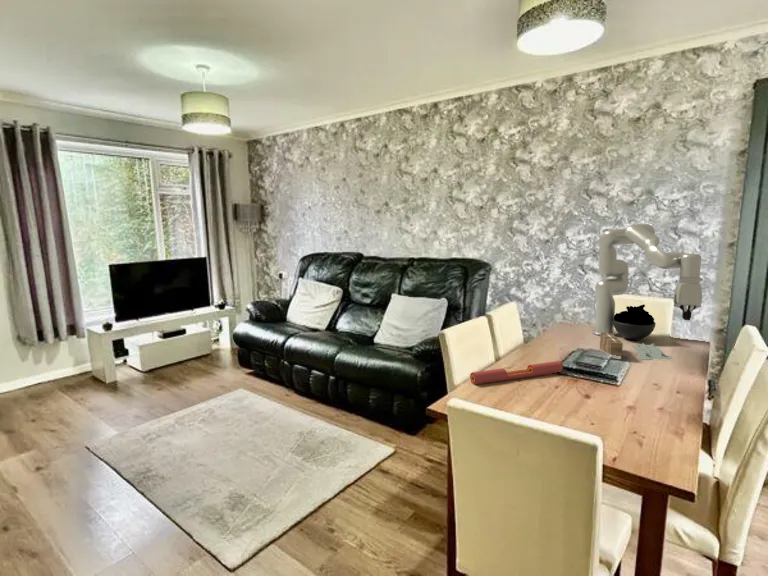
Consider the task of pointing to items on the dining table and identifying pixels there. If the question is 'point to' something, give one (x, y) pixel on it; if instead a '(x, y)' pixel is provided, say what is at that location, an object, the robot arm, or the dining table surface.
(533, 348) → the dining table surface
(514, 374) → the blood vessel
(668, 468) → the dining table surface
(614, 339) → the block
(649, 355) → the metal bracket
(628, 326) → the bowl of black rocks
